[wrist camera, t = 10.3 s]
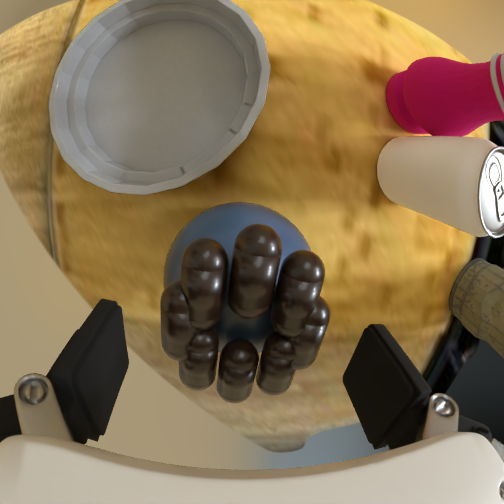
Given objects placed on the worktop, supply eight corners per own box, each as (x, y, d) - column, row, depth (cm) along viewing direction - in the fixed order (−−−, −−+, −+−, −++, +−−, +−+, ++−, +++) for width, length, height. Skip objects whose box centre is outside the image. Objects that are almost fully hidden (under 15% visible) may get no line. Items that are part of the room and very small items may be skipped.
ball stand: (189, 182, 21) (145, 210, 10) (299, 197, 22) (361, 238, 11) (181, 284, 24) (150, 376, 13) (279, 295, 25) (310, 388, 14)
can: (408, 125, 20) (508, 122, 9) (435, 181, 22) (528, 208, 11) (362, 159, 21) (462, 171, 10) (393, 217, 23) (485, 265, 12)
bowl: (100, 20, 14) (79, 2, 10) (274, 20, 16) (283, -6, 12) (68, 181, 20) (39, 189, 15) (245, 196, 22) (248, 206, 17)
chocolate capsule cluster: (169, 208, 10) (157, 218, 9) (342, 231, 11) (360, 244, 9) (167, 377, 13) (162, 401, 12) (294, 387, 14) (300, 410, 13)
